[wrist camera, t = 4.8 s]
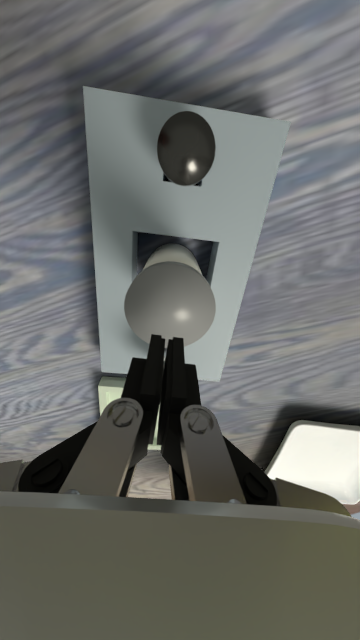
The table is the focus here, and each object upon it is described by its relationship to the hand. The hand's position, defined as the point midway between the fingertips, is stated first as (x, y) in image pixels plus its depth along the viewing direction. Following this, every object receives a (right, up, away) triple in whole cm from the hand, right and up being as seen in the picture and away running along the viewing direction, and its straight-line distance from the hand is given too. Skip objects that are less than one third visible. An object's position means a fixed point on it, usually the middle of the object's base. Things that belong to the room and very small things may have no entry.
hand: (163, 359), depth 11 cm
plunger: (+1, +15, +7) cm, 17 cm away
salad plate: (+26, -22, +28) cm, 44 cm away
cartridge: (0, +7, +11) cm, 13 cm away
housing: (0, +7, +11) cm, 13 cm away
